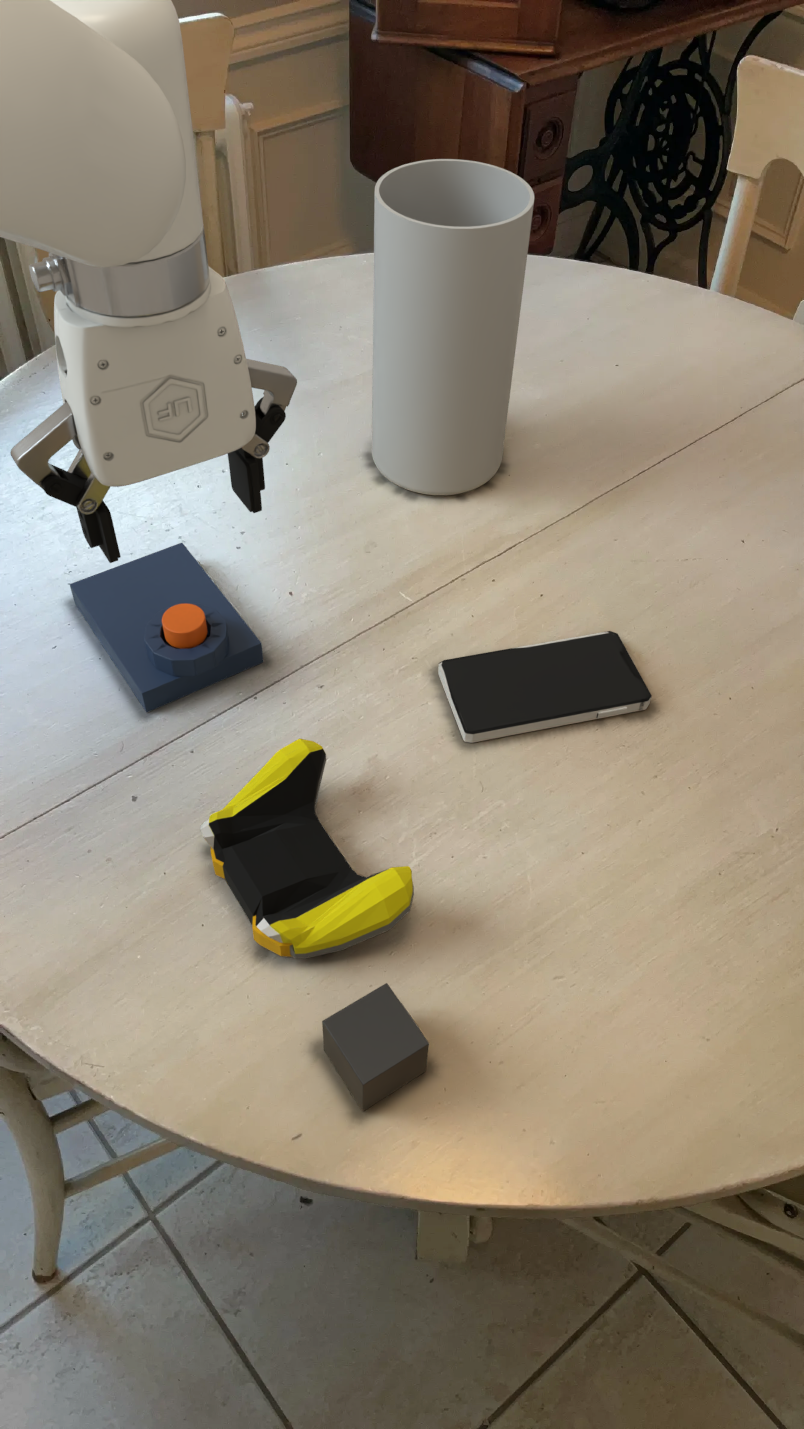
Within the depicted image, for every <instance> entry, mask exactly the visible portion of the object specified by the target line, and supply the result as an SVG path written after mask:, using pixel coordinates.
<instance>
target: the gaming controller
mask: <svg viewBox="0 0 804 1429" xmlns="http://www.w3.org/2000/svg"><path fill="white" fill-rule="evenodd" d="M326 763H327V753H326V752H325V749H324V748H323V746H322V745H320V744H319V743H317V742H316V741H314V740H309V739H304V738H298V739H296V740H294V741H292V742H290V743H289V744H287V745H285V746H283V747H282V748H280V749H278V751H276V752H275V753H274V754H273V755H272V756H271V758H269V760H268V761H267V762H265V764H264V765H263V766H262V767H261V769H259V771H258V772H256V774H255V775H254V776H253V777H252V778H251V779H249V781H248V782H247V783H246V784H245V785H244V786H243V787H242V788H241V789H240V790H239V791H238V792H237V793H236V794H235V795H234V796H233V798H232V799H231V800H230V801H229V802H228V803H227V804H226V805H225V806H224V807H223V808H222V809H220V810H218V811H216V812H213V813H211V814H210V815H209V818H208V819H206V820H205V821H204V822H203V823H202V824H201V825H200V832H201V833H200V834H201V835H202V838H203V839H204V840H205V841H206V843H207V844H208V845H209V847H210V858H211V861H212V867H213V871H214V874H215V876H218V877H219V878H221V879H224V880H225V882H226V884H227V885H228V887H229V889H230V890H231V892H232V894H233V895H234V897H235V899H236V900H237V902H238V904H239V906H240V907H241V909H242V910H243V913H244V915H245V916H246V917H247V919H248V921H249V923H250V924H251V926H252V927H251V928H252V938H253V941H255V943H257V944H258V945H259V946H260V947H263V948H265V949H266V950H268V951H270V952H272V953H274V954H276V955H277V956H280V957H287V958H294V959H309V958H313V957H314V958H315V957H318V956H322V955H326V954H331V953H335V952H340V951H344V950H346V949H348V948H351V947H353V946H355V945H357V944H360V943H362V942H364V941H366V940H369V939H372V938H374V937H376V936H379V935H381V934H383V933H386V932H388V931H390V930H391V929H392V928H394V926H396V925H397V923H399V921H401V920H402V919H403V918H404V917H405V916H406V915H407V914H408V913H410V912H411V909H412V905H413V900H414V896H415V888H414V882H413V870H412V868H411V867H410V866H409V865H404V866H403V865H402V866H392V867H389V868H386V869H385V870H381V871H379V872H376V873H373V874H371V875H368V876H365V875H360V874H358V873H357V872H356V871H355V870H354V869H353V868H352V866H351V865H350V864H349V862H348V861H347V859H346V858H345V856H344V854H342V852H341V851H340V849H339V848H338V846H337V845H336V843H335V842H334V840H333V839H332V838H331V836H330V835H329V833H328V831H326V829H325V827H324V826H323V825H322V823H321V821H320V819H319V818H318V816H317V814H316V808H317V803H318V797H319V792H320V789H321V788H320V787H321V784H322V780H323V775H324V771H325V767H326Z"/></svg>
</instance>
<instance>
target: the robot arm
mask: <svg viewBox="0 0 804 1429" xmlns="http://www.w3.org/2000/svg"><path fill="white" fill-rule="evenodd" d="M186 68H187V67H186V59H185V51H184V43H183V35H182V30H181V24H180V19H179V16H178V13H177V10H176V7H175V5H174V3H173V1H172V0H0V238H1V239H5V240H8V241H11V242H15V243H18V244H21V245H25V246H28V247H30V248H35V249H38V250H41V251H43V252H47V253H48V256H47V257H43V258H42V259H41V260H42V261H38V262H34V263H30V264H28V270H29V275H30V277H31V280H32V284H33V285H34V288H35V290H36V291H37V293H43V292H47V291H50V290H51V291H52V292H53V293H54V292H55V294H54V300H53V303H54V304H53V305H54V306H53V325H54V326H53V328H54V341H55V342H54V344H55V354H56V356H55V357H56V362H57V363H56V365H57V374H58V380H59V384H60V385H59V386H60V387H59V388H60V393H61V400H62V405H60V406H59V407H58V408H57V409H56V410H55V411H54V412H52V413H51V414H50V415H49V416H48V417H46V418H45V419H44V420H43V421H42V422H41V423H39V424H38V425H37V426H36V427H35V428H34V429H32V430H31V431H30V432H29V433H27V435H25V436H24V437H23V438H22V439H21V440H19V442H17V443H16V444H15V445H13V446H12V448H11V449H10V456H11V458H12V459H13V461H14V463H15V464H16V466H17V468H18V470H20V471H21V472H22V473H23V474H24V475H25V476H26V477H27V478H29V479H30V480H31V481H32V482H33V483H34V484H35V485H37V486H38V487H39V488H41V489H42V490H43V491H44V493H45V494H46V495H47V496H49V497H51V498H54V499H56V500H58V501H61V502H62V503H65V504H68V505H70V506H72V507H75V508H76V512H77V515H78V520H79V523H80V526H81V530H82V534H83V536H84V538H85V541H86V543H87V544H88V546H89V547H90V548H91V549H94V548H97V547H99V548H100V550H101V552H102V553H103V555H104V556H105V558H106V559H107V561H108V563H109V564H112V563H115V562H118V561H119V559H120V558H121V552H120V547H119V543H118V539H117V534H116V531H115V526H114V523H113V518H112V513H111V511H110V509H109V507H108V506H107V504H106V502H105V501H104V499H105V497H106V496H107V494H108V492H109V490H110V488H111V487H112V488H114V487H115V488H116V487H117V488H119V487H126V486H130V485H135V484H138V483H141V482H145V481H147V480H151V479H154V478H157V477H160V476H164V475H166V474H170V473H173V472H176V471H179V470H182V469H185V468H189V467H191V466H195V465H198V464H202V463H204V462H208V461H210V460H213V459H217V458H220V457H223V456H225V455H227V459H228V469H229V477H230V485H231V489H232V491H233V493H234V494H235V495H236V497H237V498H238V499H239V500H240V502H241V503H242V504H243V505H244V507H245V508H246V509H247V510H248V512H249V513H253V514H257V513H259V512H261V511H263V504H262V494H261V492H262V491H264V490H265V489H266V482H265V470H264V459H263V458H265V457H266V456H267V455H268V454H269V452H270V449H271V448H270V444H269V443H270V441H271V440H272V438H273V437H274V435H275V434H276V433H277V431H278V430H279V429H280V428H281V426H282V425H283V424H284V422H285V421H286V417H287V413H286V412H285V411H286V409H287V407H289V405H290V403H291V400H292V398H293V395H294V392H295V390H296V388H297V385H298V379H297V378H296V376H295V375H294V374H293V373H292V372H291V371H290V370H289V369H288V368H287V367H285V366H282V365H279V364H273V363H268V362H264V361H259V360H254V359H250V358H247V357H246V352H245V347H244V346H245V345H244V342H243V338H242V334H241V331H240V326H239V322H238V318H237V314H236V310H235V306H234V303H233V300H232V296H231V293H230V290H229V288H228V285H227V282H226V280H225V278H224V276H222V275H221V274H220V273H218V272H217V271H215V270H214V269H213V268H212V267H211V266H209V259H208V251H207V250H208V249H207V243H206V235H205V226H204V218H203V209H202V201H201V200H202V199H201V190H200V183H199V175H198V174H199V173H198V164H197V157H196V156H197V155H196V146H195V138H194V137H195V136H194V130H193V120H192V112H191V103H190V96H189V87H188V78H187V69H186ZM253 389H258V390H261V391H262V390H263V393H262V394H263V396H262V397H261V398H260V399H259V400H258V401H257V402H256V403H255V400H254V393H253ZM71 441H72V443H73V444H74V446H75V448H77V449H78V452H77V453H76V455H75V456H74V459H73V460H72V462H71V464H70V466H69V467H68V469H67V470H66V469H63V468H61V467H59V466H57V465H54V464H52V463H50V462H49V461H50V460H51V458H52V457H54V456H55V455H56V454H57V453H58V452H60V450H61V449H63V448H64V447H66V445H68V443H70V442H71Z"/></svg>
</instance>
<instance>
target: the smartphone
mask: <svg viewBox="0 0 804 1429" xmlns="http://www.w3.org/2000/svg"><path fill="white" fill-rule="evenodd" d="M437 674H438V677H439V680H440V682H441V685H442V687H443V691H444V693H445V696H446V698H447V701H448V704H449V706H450V708H451V711H452V713H453V716H454V719H455V722H456V725H457V727H458V729H459V730H458V731H459V733H460V735H461V737H462V740H463V741H464V742H465V743H471V744H472V743H477V742H483V741H488V740H494V739H498V738H504V737H509V736H515V735H519V734H525V733H530V732H535V731H536V732H537V731H540V730H546V729H550V728H551V729H552V728H556V727H561V726H566V725H570V724H576V723H582V722H588V721H593V720H598V719H603V718H608V717H609V718H610V717H615V716H619V715H625V714H629V713H634V712H639V711H645V710H647V708H648V707H649V705H650V703H651V700H652V696H653V695H652V694H651V692H650V690H649V688H648V686H647V684H646V682H645V680H644V679H643V677H642V675H641V674H640V671H639V670H638V668H637V666H636V664H635V663H634V661H633V659H632V657H631V655H630V653H629V652H628V649H627V648H626V646H625V644H624V642H623V641H622V639H621V637H620V635H619V633H617V632H614V631H611V630H607V631H602V632H596V633H590V634H584V635H579V636H573V637H568V638H561V639H556V640H551V641H545V642H540V643H532V644H527V645H522V646H517V647H510V648H506V649H499V650H493V651H488V652H482V653H476V654H470V655H465V656H460V657H453V658H448V659H443V660H442V661H440V662H438V668H437Z"/></svg>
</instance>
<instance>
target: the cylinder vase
mask: <svg viewBox="0 0 804 1429" xmlns="http://www.w3.org/2000/svg"><path fill="white" fill-rule="evenodd" d="M534 205H535V193H534V191H533V188H532V187H531V186H530V184H529V183H528V182H527V181H526V180H525V179H524V178H522V177H521V176H519V175H517V174H516V173H513V172H512V171H510V170H507V169H506V168H503V167H500V166H497V165H493V164H491V163H485V162H481V161H475V160H469V159H458V158H436V159H435V158H433V159H424V160H417V161H413V162H412V161H411V162H409V163H405V164H402V165H399V166H396V167H393V168H391V169H390V170H388V171H387V172H385V173H384V174H382V175H381V176H380V177H379V178H378V180H377V181H376V183H375V186H374V206H373V208H374V209H373V212H374V214H373V215H374V216H373V217H374V218H373V219H374V220H373V294H372V296H373V297H372V298H373V302H372V303H373V305H372V307H373V308H372V316H373V317H372V374H371V375H372V377H371V378H372V379H371V380H372V382H371V385H372V387H371V388H372V389H371V457H372V460H373V462H374V465H375V467H376V468H377V470H378V471H379V473H380V474H381V475H382V476H383V477H385V478H386V479H387V480H388V481H389V482H391V483H392V484H395V485H396V486H398V487H400V488H402V489H405V490H407V491H409V492H412V493H418V494H423V495H429V496H451V495H453V496H454V495H459V494H463V493H467V492H470V491H472V490H473V491H474V490H475V489H477V488H480V487H481V486H483V485H484V484H486V483H487V482H489V481H490V480H491V479H492V478H493V477H494V476H495V475H496V474H497V472H498V471H499V468H500V466H501V464H502V461H503V460H502V459H503V453H504V446H505V445H504V444H505V437H506V429H507V422H508V412H509V405H510V396H511V389H512V381H513V374H514V365H515V357H516V348H517V343H518V342H517V340H518V332H519V325H520V317H521V308H522V301H523V300H522V299H523V292H524V283H525V279H526V278H525V277H526V268H527V262H528V261H527V260H528V254H529V245H530V237H531V228H532V222H533V213H534V212H533V211H534Z"/></svg>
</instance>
